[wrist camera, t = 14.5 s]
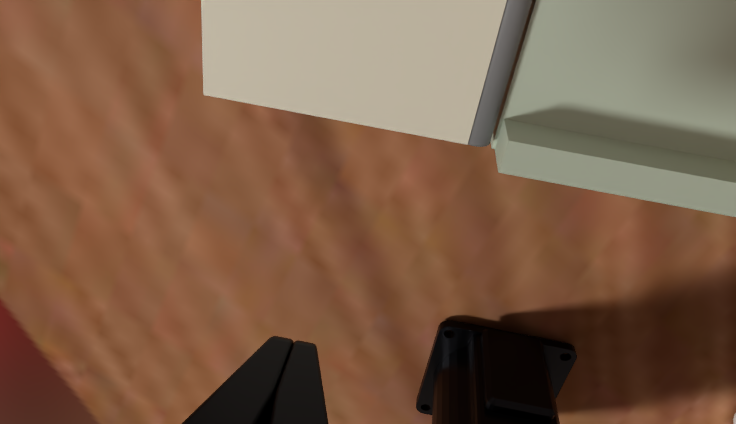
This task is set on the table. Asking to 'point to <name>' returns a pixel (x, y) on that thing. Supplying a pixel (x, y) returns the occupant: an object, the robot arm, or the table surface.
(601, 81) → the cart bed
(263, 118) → the table surface
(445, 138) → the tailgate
